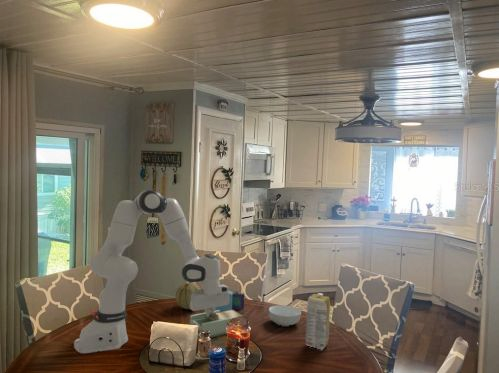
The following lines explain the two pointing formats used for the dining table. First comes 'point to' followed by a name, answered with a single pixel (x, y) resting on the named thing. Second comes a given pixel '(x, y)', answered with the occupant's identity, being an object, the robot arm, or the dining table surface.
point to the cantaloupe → (186, 294)
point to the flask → (237, 300)
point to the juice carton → (317, 321)
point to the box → (209, 324)
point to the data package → (225, 307)
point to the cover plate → (224, 315)
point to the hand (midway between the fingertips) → (209, 316)
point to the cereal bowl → (284, 315)
